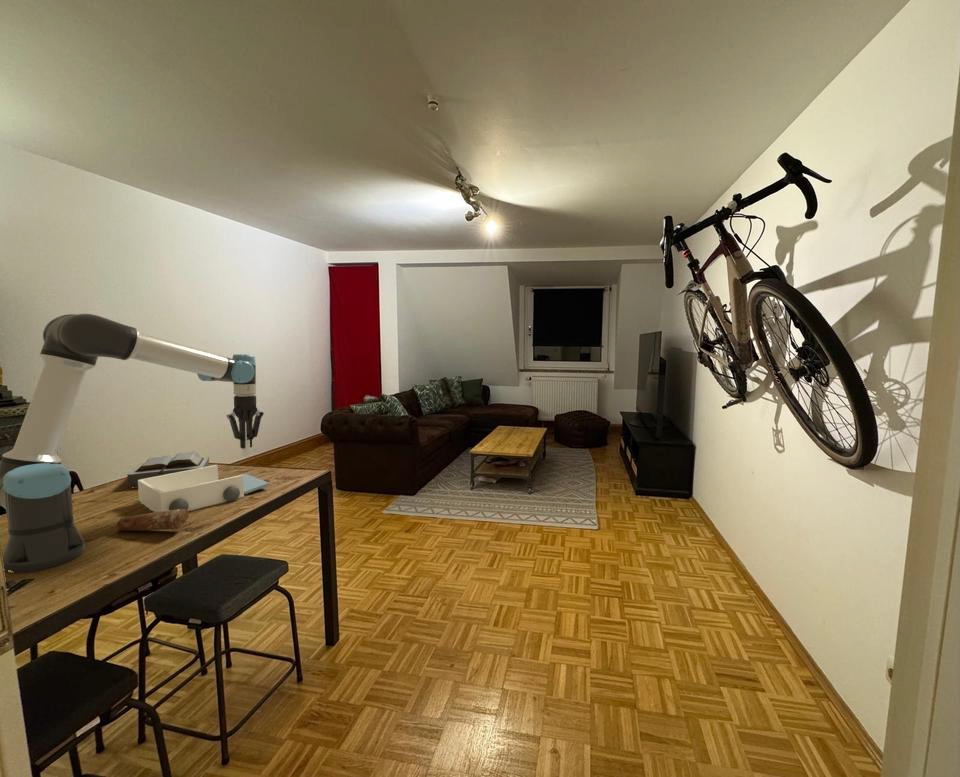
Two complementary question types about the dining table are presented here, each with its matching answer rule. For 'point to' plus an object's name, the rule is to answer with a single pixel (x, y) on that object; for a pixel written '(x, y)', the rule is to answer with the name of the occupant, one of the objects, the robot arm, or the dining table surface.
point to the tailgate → (252, 483)
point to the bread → (154, 521)
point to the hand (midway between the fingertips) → (246, 456)
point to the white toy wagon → (189, 489)
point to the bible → (166, 466)
